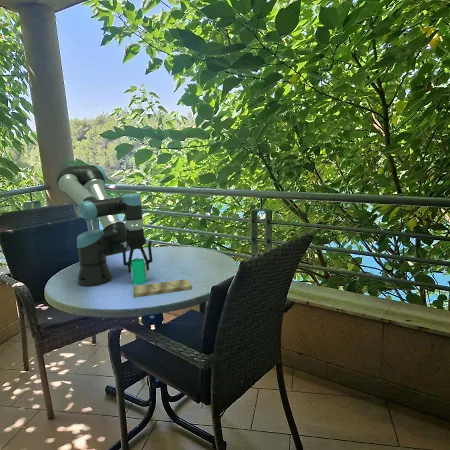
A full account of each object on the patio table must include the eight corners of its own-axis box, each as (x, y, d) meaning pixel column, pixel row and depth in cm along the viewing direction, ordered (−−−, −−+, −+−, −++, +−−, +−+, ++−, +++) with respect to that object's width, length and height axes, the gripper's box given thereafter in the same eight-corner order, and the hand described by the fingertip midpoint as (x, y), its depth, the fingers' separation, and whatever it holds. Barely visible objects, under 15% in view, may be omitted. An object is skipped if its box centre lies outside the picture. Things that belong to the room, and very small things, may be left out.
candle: (142, 284, 150) (140, 258, 148) (130, 284, 151) (127, 258, 149) (148, 279, 156) (145, 255, 154) (136, 279, 157) (133, 254, 155)
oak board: (133, 297, 137) (133, 294, 136) (133, 289, 145) (133, 286, 145) (192, 289, 143) (191, 285, 143) (188, 282, 151) (188, 278, 151)
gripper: (112, 232, 143) (118, 283, 148) (156, 228, 148) (160, 278, 152) (113, 229, 150) (118, 278, 155) (155, 225, 155) (159, 273, 159)
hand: (139, 278), depth 154 cm, fingers closed on candle, 5 cm apart
